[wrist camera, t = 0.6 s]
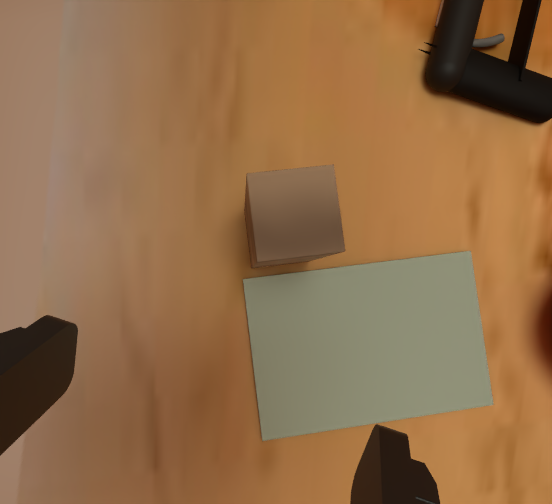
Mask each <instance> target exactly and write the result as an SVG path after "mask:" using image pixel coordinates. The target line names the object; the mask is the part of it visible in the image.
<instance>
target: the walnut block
mask: <svg viewBox="0 0 552 504" xmlns="http://www.w3.org/2000/svg"><path fill="white" fill-rule="evenodd" d="M244 211H245V219H246V228H247V236H248V244H249V252H250V261H251V268H258V267H266V266H274V265H282V264H291V263H299V262H307V261H312V260H315V259H319V258H323V257H326V256H330V255H333V254H337V253H341V252H344V251H345V246H344V238H343V231H342V223H341V216H340V208H339V201H338V193H337V185H336V178H335V170H334V165H324V166H315V167H305V168H295V169H286V170H276V171H266V172H257V173H247V176H246V193H245V209H244Z"/></svg>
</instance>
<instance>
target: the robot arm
mask: <svg viewBox="0 0 552 504" xmlns="http://www.w3.org/2000/svg"><path fill="white" fill-rule="evenodd" d="M77 334H78V328H77V326H76V324H74V323H71V322H68V321H65V320H62V319H59V318H56V317H53V316H49V315H46V316H44V317H42V318H40V319H39V320H37V321H36V322H34V323H33V324H31V325H30V326H28V327H27V328H22V327H19V328H16V329H12V330H10V331H7V332H3V333H0V455H1V454H2V453H3V452H4V451H5V450H6V449H7V448H8V447H10V446H11V445H12V444H13V443H14V442H15V441H16V440H17V439H18V438H19V437H20V436H21V435H22V434H23V433H24V432H25V431H26V430H27V429H28V428H29V427H30V426H31V425H32V424H33V423H34V422H35V421H36V420H38V419H39V418H40V417H41V416H42V415H43V414H44V413H45V412H46V411H47V410H48V409H49V408H50V407H51V406H52V405H53V404H54V403H55V402H56V401H57V400H58V399H59V398H60V397H61V396H62V395H63V394H64V393H65V391H66V390H67V388H68V387H69V385H70V383H71V380H72V378H73V374H74V366H75V355H76V345H77ZM350 504H440V500H439V495H438V489H437V484H436V482H435V480H434V479H433V477H432V475H431V474H430V472H429V470H428V468H427V467H426V465H425V463H422V462H419V461H416V460H413V459H411V456H410V448H409V441H408V436H407V434H405V433H402V432H399V431H396V430H393V429H390V428H387V427H384V426H381V425H378V424H377V425H375V427H374V428H373V430H372V433H371V435H370V438H369V440H368V442H367V445H366V447H365V450H364V452H363V455H362V457H361V460H360V462H359V465H358V467H357V470H356V473H355V476H354V480H353V484H352V490H351V503H350Z"/></svg>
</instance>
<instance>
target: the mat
mask: <svg viewBox="0 0 552 504" xmlns="http://www.w3.org/2000/svg"><path fill="white" fill-rule="evenodd" d="M243 284H244V293H245V301H246V309H247V318H248V326H249V334H250V343H251V351H252V359H253V368H254V376H255V384H256V392H257V401H258V409H259V417H260V426H261V434H262V441H266V440H272V439H279V438H285V437H291V436H298V435H304V434H310V433H317V432H323V431H330V430H336V429H342V428H349V427H355V426H361V425H368V424H374V423H381V422H387V421H393V420H400V419H406V418H412V417H419V416H425V415H432V414H438V413H444V412H451V411H457V410H463V409H470V408H476V407H482V406H489V405H493V398H492V391H491V384H490V378H489V371H488V364H487V357H486V351H485V344H484V337H483V330H482V324H481V317H480V310H479V303H478V297H477V290H476V283H475V276H474V270H473V263H472V256H471V251H465V252H457V253H449V254H441V255H433V256H425V257H417V258H409V259H401V260H393V261H385V262H377V263H369V264H361V265H353V266H345V267H337V268H329V269H321V270H313V271H305V272H297V273H289V274H281V275H273V276H265V277H257V278H249V279H243Z"/></svg>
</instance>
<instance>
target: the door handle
mask: <svg viewBox="0 0 552 504" xmlns="http://www.w3.org/2000/svg"><path fill="white" fill-rule="evenodd" d="M483 2H484V0H442V1H441V5H440V9H439V13H438V17H437V20H436V24H435V27H437V30H436V34H435V37H434V41H433V44H429V43H426V44H428V45H430V46H432V49H431V52H428V51H424V50H421V51H423V52H425V53H427V54H429V55H430V57H429V61H428V65H427V68H426V80H427V82H428V84H429V85H430V87H432V88H433V89H434V90H436V91H440V92H446V91H448V92H451V93H454V94H457V95H460V96H463V97H465V98H468V99H471V100H474V101H477V102H480V103H482V104H485V105H488V106H491V107H494V108H496V109H499V110H502V111H505V112H508V113H511V114H513V115H516V116H519V117H522V118H525V119H528V120H530V121H533V122H536V123H544V122H546V121H548V120H550V119H551V118H552V78H550V77H547V76H544V75H542V74H539V73H536V72H534V71H531V70H528V69H526V68H525V67H526V63H527V59H528V54H529V50H530V46H531V42H532V38H533V33H534V29H535V25H536V21H537V17H538V12H539V8H540V4H541V0H523V2H522V6H521V10H520V14H519V18H518V22H517V26H516V31H515V35H514V39H513V43H512V47H511V51H510V55H509V59H508V62H507V61H504V60H501V59H498V58H496V57H493V56H490V55H488V54H485V53H482V52H479V51H477V50H474V49H472V47H488V46H492V45H496V44H499V43H501V42H503V41H504V35H503V34H499V35H496V36H493V37H490V38H485V39H474V38H475V34H476V30H477V26H478V22H479V18H480V14H481V10H482V6H483ZM424 43H425V42H424ZM419 50H420V49H419Z"/></svg>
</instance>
